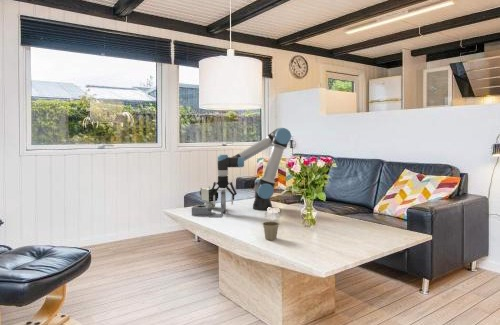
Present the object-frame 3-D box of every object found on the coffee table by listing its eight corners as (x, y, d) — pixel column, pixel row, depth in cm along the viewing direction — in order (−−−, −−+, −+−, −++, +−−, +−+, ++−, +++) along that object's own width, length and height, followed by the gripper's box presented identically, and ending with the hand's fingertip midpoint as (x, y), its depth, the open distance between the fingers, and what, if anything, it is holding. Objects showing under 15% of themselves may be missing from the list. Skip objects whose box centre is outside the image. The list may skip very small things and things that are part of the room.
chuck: (211, 212, 275) (211, 204, 274) (208, 215, 263) (207, 208, 262) (195, 211, 276) (195, 204, 275) (191, 215, 264) (191, 208, 263)
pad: (223, 214, 266) (223, 213, 266) (221, 217, 257) (221, 216, 257) (211, 214, 266) (211, 213, 266) (208, 217, 257) (208, 216, 257)
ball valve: (220, 209, 285) (220, 186, 284) (211, 210, 280) (210, 187, 279) (208, 205, 299) (208, 184, 298) (199, 206, 294) (199, 185, 293)
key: (226, 211, 274) (226, 189, 273) (224, 214, 265) (224, 191, 263) (222, 211, 275) (221, 189, 273) (219, 214, 265) (219, 191, 264)
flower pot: (282, 238, 203) (282, 223, 203) (272, 242, 196) (272, 226, 196) (269, 235, 210) (269, 220, 209) (259, 239, 203) (258, 223, 202)
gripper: (240, 175, 270) (240, 203, 272) (207, 174, 272) (207, 203, 274) (239, 176, 263) (239, 205, 264) (205, 176, 265) (205, 205, 266)
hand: (223, 204), depth 269 cm, fingers open, 13 cm apart
